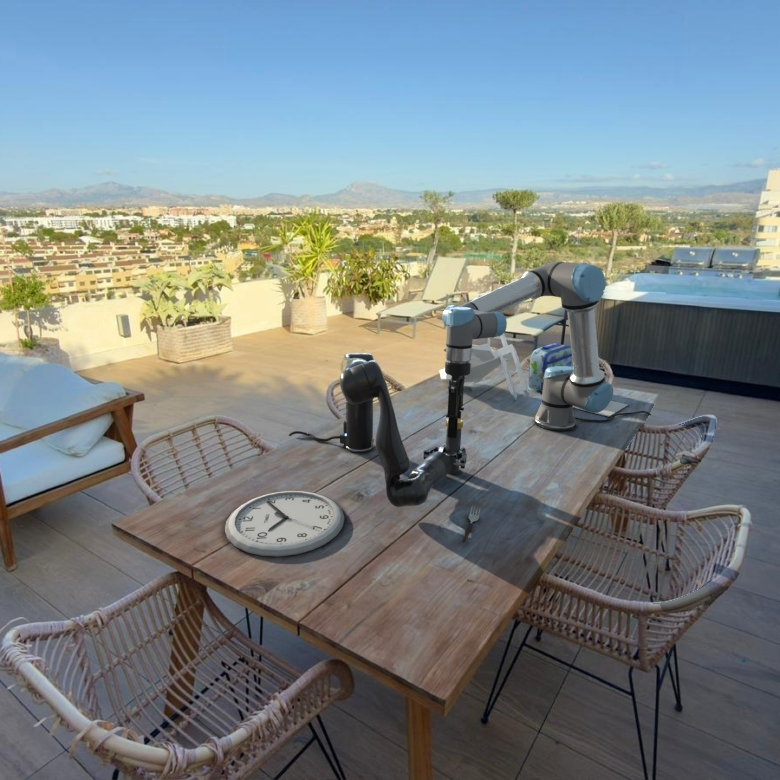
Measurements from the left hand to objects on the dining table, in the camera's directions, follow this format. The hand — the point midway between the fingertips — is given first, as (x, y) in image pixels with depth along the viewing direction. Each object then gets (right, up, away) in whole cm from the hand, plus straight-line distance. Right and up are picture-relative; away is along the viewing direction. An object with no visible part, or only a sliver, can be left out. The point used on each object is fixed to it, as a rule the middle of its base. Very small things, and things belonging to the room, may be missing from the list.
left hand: (456, 448), depth 165 cm
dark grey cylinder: (-1, -7, 0) cm, 7 cm away
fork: (-1, -17, -32) cm, 36 cm away
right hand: (-1, +5, -4) cm, 6 cm away
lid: (-1, +9, -5) cm, 10 cm away
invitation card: (+71, +11, +61) cm, 94 cm away
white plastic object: (+21, +17, +78) cm, 83 cm away
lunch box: (+56, +19, +87) cm, 105 cm away
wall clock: (-48, -16, -30) cm, 59 cm away
